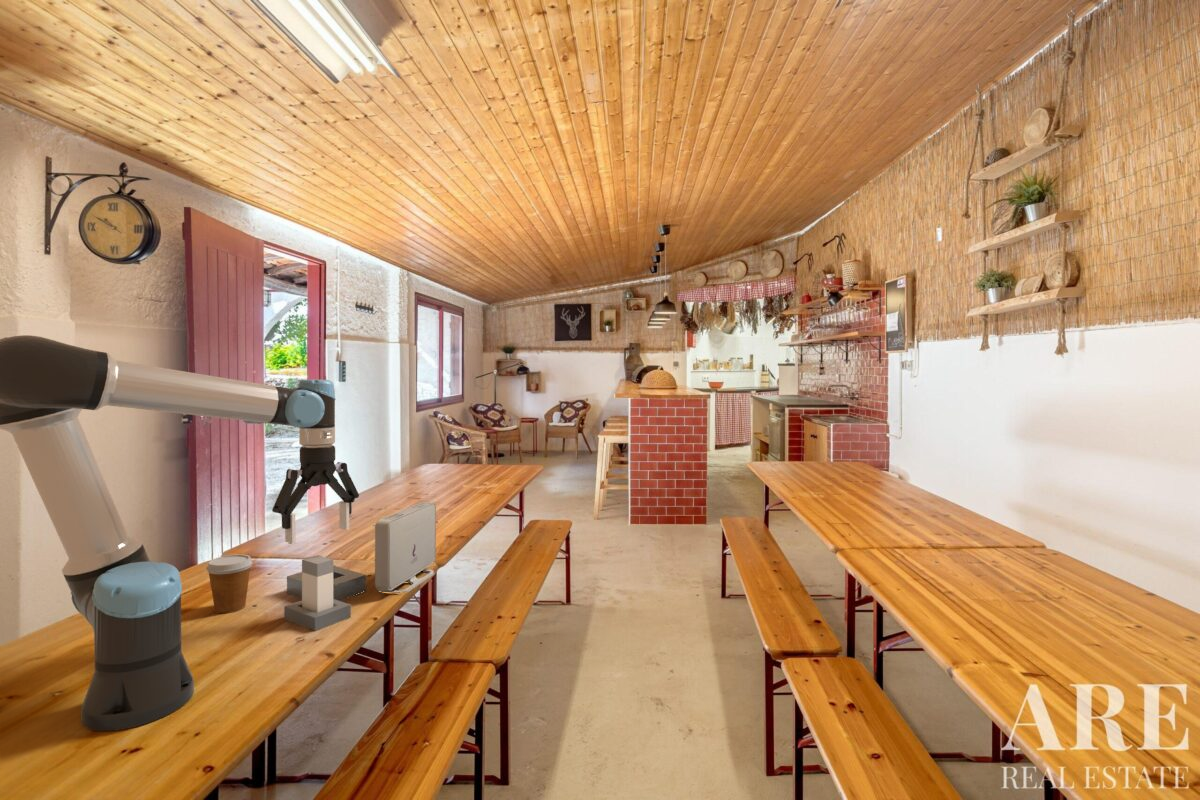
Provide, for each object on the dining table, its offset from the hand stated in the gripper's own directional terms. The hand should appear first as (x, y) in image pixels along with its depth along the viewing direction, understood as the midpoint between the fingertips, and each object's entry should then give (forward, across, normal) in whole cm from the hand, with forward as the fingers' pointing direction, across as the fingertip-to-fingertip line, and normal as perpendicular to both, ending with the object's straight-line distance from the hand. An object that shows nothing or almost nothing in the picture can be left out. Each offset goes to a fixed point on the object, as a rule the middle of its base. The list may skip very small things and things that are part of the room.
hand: (318, 535), depth 135 cm
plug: (+20, 0, 0) cm, 20 cm away
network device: (+20, +28, +2) cm, 34 cm away
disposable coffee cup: (+20, -8, +23) cm, 32 cm away
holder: (+20, 0, 0) cm, 20 cm away
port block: (+20, +11, +13) cm, 26 cm away
